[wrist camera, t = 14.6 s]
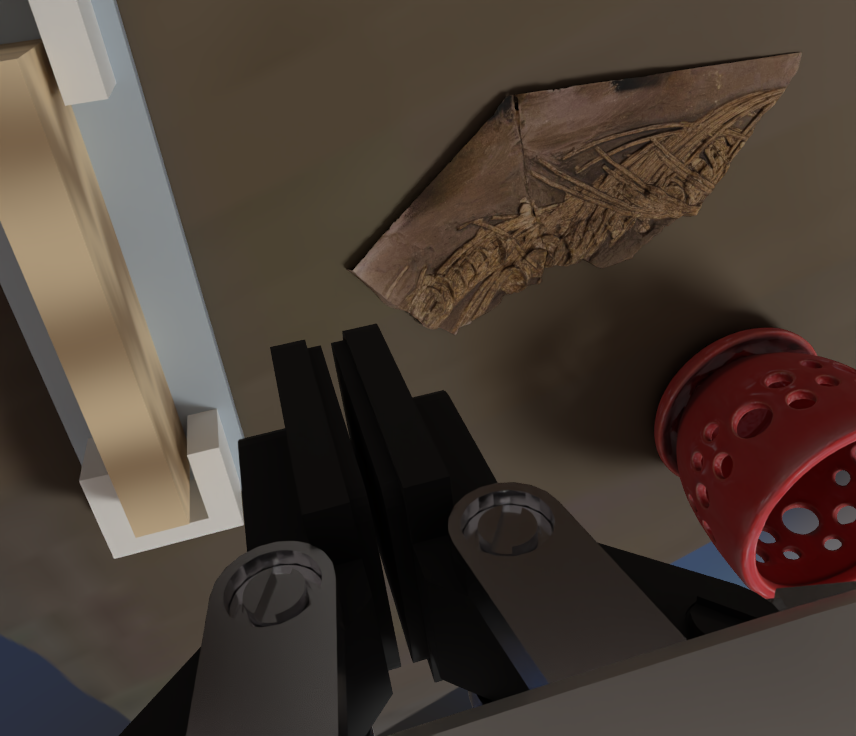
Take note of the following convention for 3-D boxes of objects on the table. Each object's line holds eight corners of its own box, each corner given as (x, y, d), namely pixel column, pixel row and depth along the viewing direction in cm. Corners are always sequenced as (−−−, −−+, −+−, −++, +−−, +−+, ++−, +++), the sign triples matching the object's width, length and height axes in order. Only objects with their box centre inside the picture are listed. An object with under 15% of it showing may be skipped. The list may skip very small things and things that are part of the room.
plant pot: (606, 381, 46) (722, 505, 36) (793, 273, 46) (962, 368, 36) (659, 512, 53) (769, 646, 43) (821, 420, 53) (969, 533, 43)
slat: (-19, 46, 28) (-64, 70, 23) (47, 37, 29) (17, 58, 24) (142, 460, 39) (135, 537, 34) (189, 448, 39) (189, 523, 34)
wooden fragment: (387, 359, 41) (391, 368, 40) (307, 176, 35) (310, 182, 34) (799, 176, 43) (812, 181, 42) (790, -29, 37) (805, -28, 36)
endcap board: (-138, -50, 27) (-192, -48, 23) (93, -78, 28) (78, -79, 24) (109, 512, 41) (100, 570, 37) (255, 475, 42) (261, 528, 39)
